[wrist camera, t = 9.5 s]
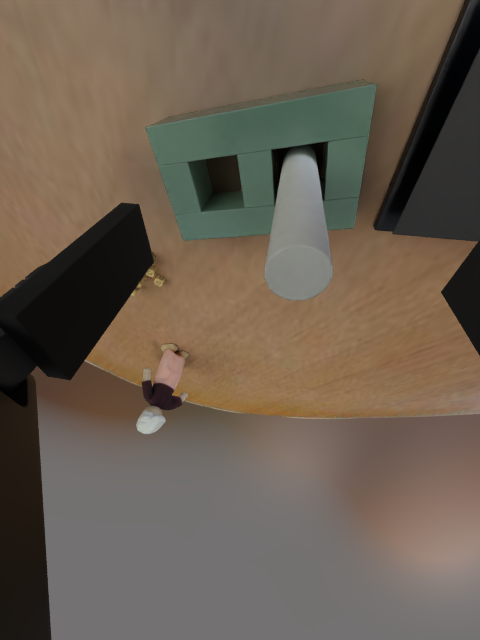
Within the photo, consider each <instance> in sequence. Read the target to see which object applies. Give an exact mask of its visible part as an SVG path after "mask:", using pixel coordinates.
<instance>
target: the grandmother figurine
mask: <svg viewBox="0 0 480 640" xmlns="http://www.w3.org/2000/svg"><path fill="white" fill-rule="evenodd" d="M161 349H162V351H163V353H164V354H163V356H162V359H161V362H160V364H159V367H158V369H157V372H156V375H155V378H154V384H153V387H152V383H151V375H150V374H151V369H150V368H145V369H144V371H143V373H144V375H143V381H142V388H143V394H144V398H145V399H146V401H147V402H148V403H149V404H150V405H151V406H148V407H147V408H146V409H145V410H144V411H143V413H142V415H140V418H139V419H138V422H137V425H136V426H137V429H138V431H140V432H142V433H143V434H151V433H153V432H156V431H157V430H158V429H159V428H160V427H162V425H163V423H165V418H164V417H163V416H162V411H161V410H160V409H163V410H172V409H175V408H177V407H179V406H181V405H182V402H183V401H184V399H186V398H187V396H188V395H187V393H186V392H183V393H181V395H180V396H178V397H177V396H172V393H173V392H174V390H175V388H176V386H177V384H178V382H179V379H180V377H181V374H182V370H183V367H184V364H185V360H186V359H187V358H188V357H189V354H188V353H186V352H184V351H180V352H178V353H174V352H175V351H177V350H178V347H177V346H176V345H174V344H164V345H162V346H161Z"/></svg>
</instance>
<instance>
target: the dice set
mask: <svg viewBox="0 0 480 640" xmlns="http://www.w3.org/2000/svg"><path fill="white" fill-rule="evenodd" d="M152 256H153V260H154V261H155V258H156V256H155V255H154V253H153V252H152ZM156 269H157V268H156V267H154V266H151V267H150V269H149V270H148V271H147V273H146V274H145V276H144V277H143V278H142V280H141V281H140V283H139V284H138V285H137V287H136V288H135V290H134V291H133V293H132V294H131V295H130V296H134V295H135V294H136V293H137V291H138V290H139V288H140V287H142V285H143V284H144V281H145V280H146V279H147V278H148V277H147V275H148V276H151V277H154V275H155V273H156ZM165 280H166V278H164V277H162V276H161V275H159V274H158V276H157V277H156V279H155V281H154V283H155V284H156V285H158V286H160V287H161V286H162V285H163V283H164V281H165Z"/></svg>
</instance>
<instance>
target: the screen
mask: <svg viewBox="0 0 480 640" xmlns="http://www.w3.org/2000/svg"><path fill="white" fill-rule="evenodd" d="M392 234H398V235H409V236H421V237H432V238H443V239H455V240H466V241H478V242H479V240H480V49H479V51H478V53H477V55H476V57H475V59H474V61H473V63H472V65H471V68H470V70H469V72H468V74H467V76H466V78H465V80H464V82H463V85H462V87H461V89H460V91H459V93H458V95H457V97H456V99H455V102H454V104H453V106H452V108H451V110H450V112H449V114H448V116H447V119H446V121H445V123H444V125H443V127H442V129H441V131H440V133H439V135H438V138H437V140H436V142H435V144H434V146H433V148H432V150H431V152H430V155H429V157H428V159H427V161H426V163H425V165H424V167H423V169H422V172H421V174H420V176H419V178H418V180H417V182H416V184H415V186H414V189H413V191H412V193H411V195H410V197H409V199H408V201H407V203H406V205H405V208H404V210H403V212H402V214H401V216H400V218H399V220H398V222H397V225H396V227H395V229H394V231H393V233H392Z"/></svg>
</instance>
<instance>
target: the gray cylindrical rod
mask: <svg viewBox="0 0 480 640" xmlns="http://www.w3.org/2000/svg"><path fill="white" fill-rule="evenodd" d="M332 275H333V267H332V260H331V253H330V247H329V240H328V233H327V227H326V220H325V213H324V207H323V200H322V193H321V187H320V180H319V173H318V167H317V160H316V152H315V149H314V147H313V146H312V145H311V144H307V145H300V146H293V147H288V148H287V150H286V151H285V154H284V157H283V164H282V170H281V176H280V182H279V188H278V194H277V199H276V205H275V211H274V217H273V223H272V229H271V235H270V241H269V247H268V253H267V259H266V265H265V271H264V276H265V280H266V283H267V285H268V287H269V288H270V289H271V290H272V291H273V292H274V293H275V294H276V295H278V296H280V297H282V298H285V299H289V300H306V299H310V298H313V297H315V296H317V295H318V294H320V293H321V292H323V291H324V290H325V289H326V288H327V286H328V285H329V283H330V281H331V279H332Z"/></svg>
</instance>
